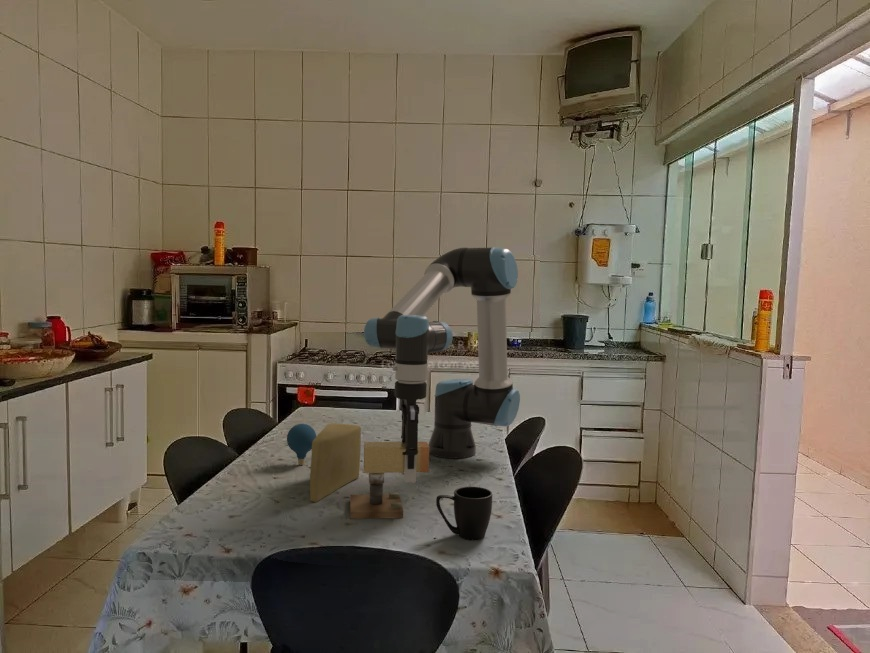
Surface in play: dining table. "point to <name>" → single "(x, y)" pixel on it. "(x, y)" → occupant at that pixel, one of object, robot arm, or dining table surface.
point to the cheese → (334, 459)
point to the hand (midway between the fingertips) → (408, 476)
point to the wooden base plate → (376, 504)
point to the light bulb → (301, 440)
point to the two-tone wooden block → (391, 459)
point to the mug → (469, 511)
